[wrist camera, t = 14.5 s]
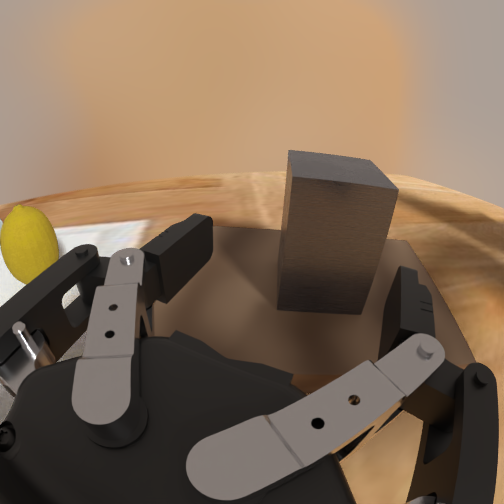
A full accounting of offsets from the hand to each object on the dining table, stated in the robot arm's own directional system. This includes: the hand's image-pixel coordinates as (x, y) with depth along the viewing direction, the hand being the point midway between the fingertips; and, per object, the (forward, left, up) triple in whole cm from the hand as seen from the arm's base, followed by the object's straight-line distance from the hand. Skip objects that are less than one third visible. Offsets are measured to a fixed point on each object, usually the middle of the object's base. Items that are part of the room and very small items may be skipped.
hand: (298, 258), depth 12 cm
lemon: (+14, -17, -9) cm, 24 cm away
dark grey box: (-6, -4, -7) cm, 10 cm away
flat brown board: (-6, -4, -9) cm, 12 cm away
